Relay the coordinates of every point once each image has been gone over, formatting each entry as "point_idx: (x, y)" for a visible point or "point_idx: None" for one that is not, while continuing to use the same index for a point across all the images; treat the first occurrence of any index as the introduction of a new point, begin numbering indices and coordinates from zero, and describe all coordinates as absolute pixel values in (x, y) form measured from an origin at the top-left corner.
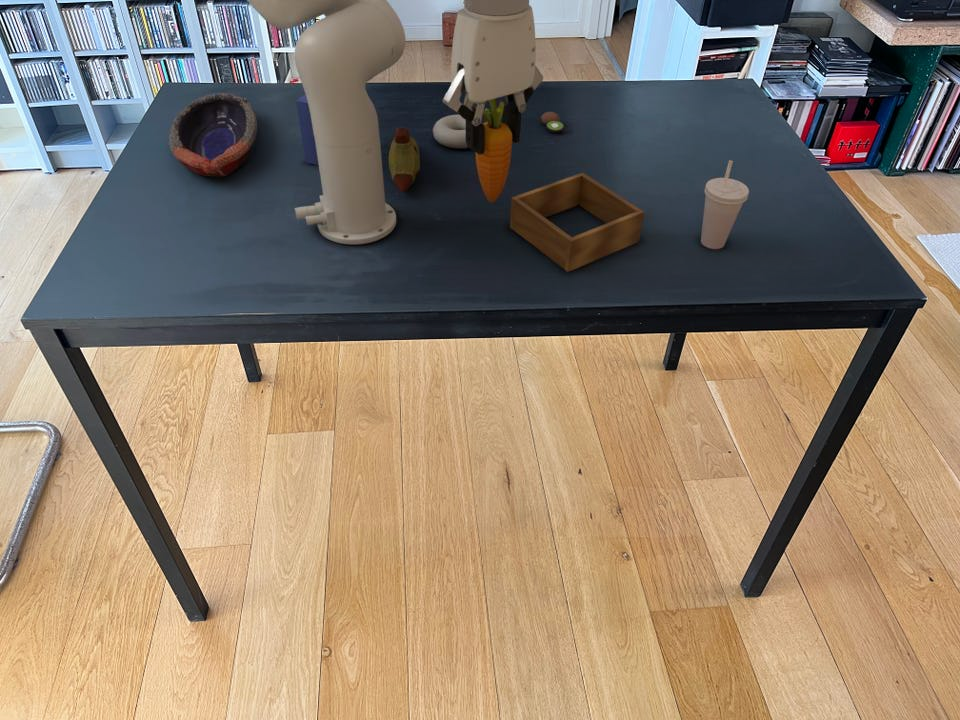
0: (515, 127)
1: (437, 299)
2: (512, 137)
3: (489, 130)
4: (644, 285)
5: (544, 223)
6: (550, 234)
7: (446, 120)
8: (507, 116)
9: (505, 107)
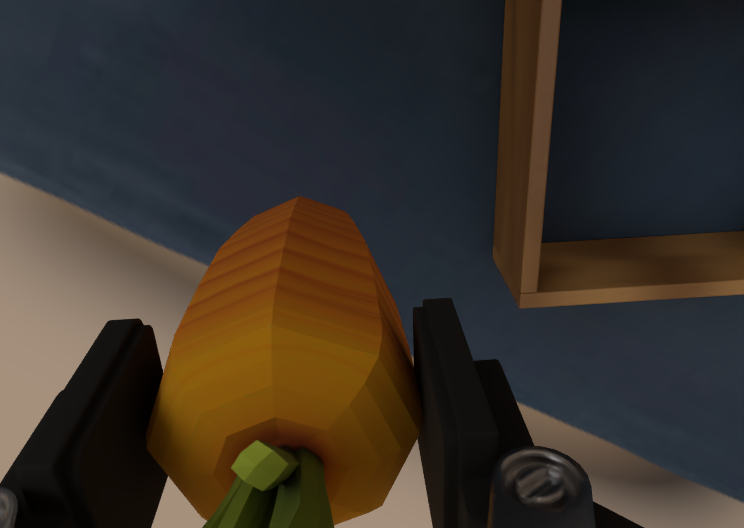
0: (429, 506)
1: (105, 186)
2: None
3: (214, 503)
4: (605, 379)
5: (526, 179)
6: (517, 205)
7: None
8: (435, 463)
9: (462, 462)
